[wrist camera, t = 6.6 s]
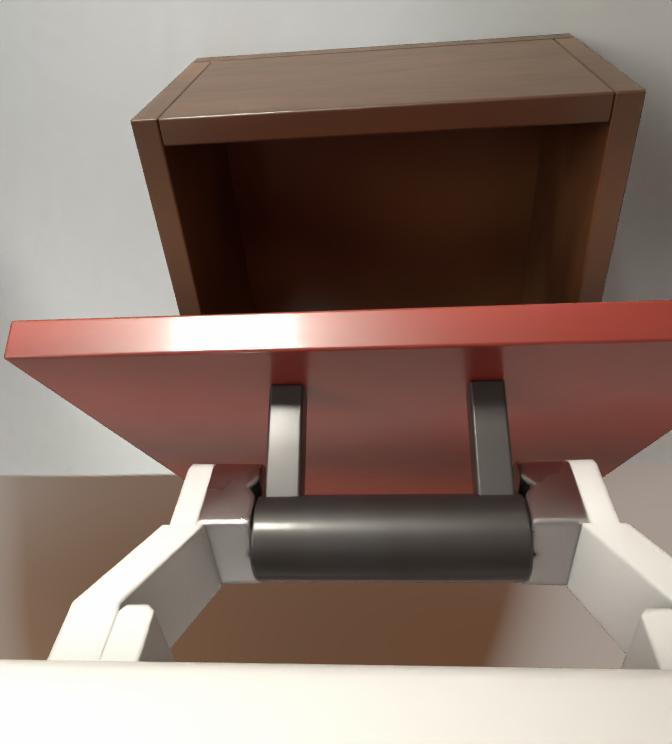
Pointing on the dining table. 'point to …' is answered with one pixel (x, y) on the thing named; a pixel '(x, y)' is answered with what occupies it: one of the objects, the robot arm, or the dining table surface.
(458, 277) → the chest
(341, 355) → the lid
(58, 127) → the dining table surface
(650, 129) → the dining table surface
